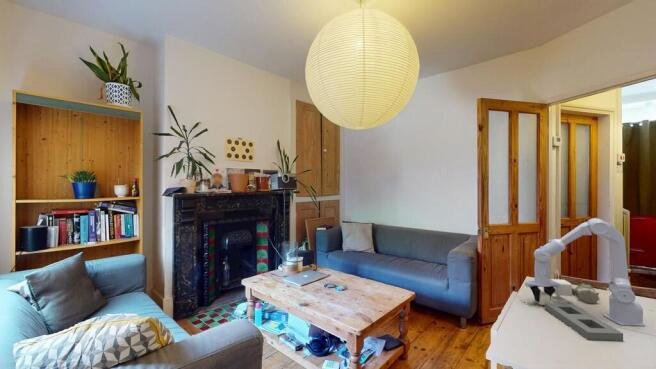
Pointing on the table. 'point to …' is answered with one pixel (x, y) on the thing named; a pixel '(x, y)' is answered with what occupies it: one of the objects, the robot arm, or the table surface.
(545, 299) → the plug
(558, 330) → the table surface
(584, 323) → the socket board
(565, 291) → the security camera
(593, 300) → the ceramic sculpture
